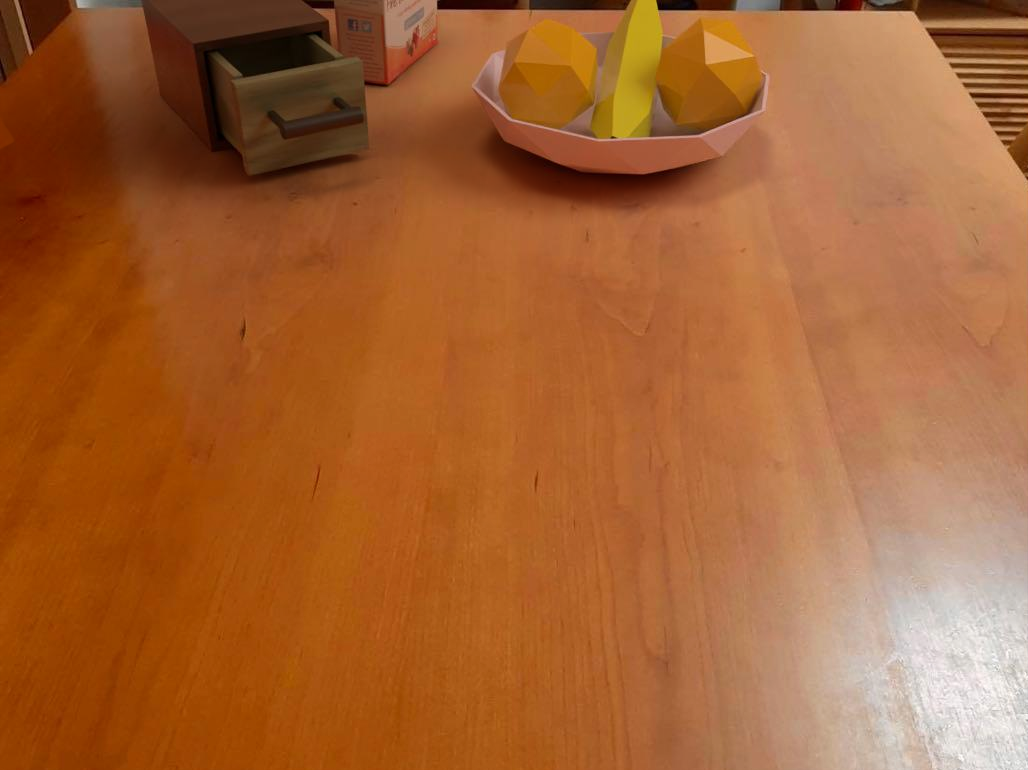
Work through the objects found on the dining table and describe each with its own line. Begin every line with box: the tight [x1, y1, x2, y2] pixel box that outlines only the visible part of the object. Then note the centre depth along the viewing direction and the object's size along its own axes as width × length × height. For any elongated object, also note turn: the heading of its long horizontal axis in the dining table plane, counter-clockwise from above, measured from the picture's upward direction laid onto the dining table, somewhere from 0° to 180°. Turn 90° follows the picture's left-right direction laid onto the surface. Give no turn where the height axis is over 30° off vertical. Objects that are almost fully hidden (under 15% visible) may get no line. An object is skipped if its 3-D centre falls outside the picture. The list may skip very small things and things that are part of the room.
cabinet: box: [141, 0, 332, 152], centre depth 110 cm, size 16×13×10 cm
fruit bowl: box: [470, 0, 771, 175], centre depth 105 cm, size 28×27×11 cm
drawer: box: [204, 32, 370, 176], centre depth 103 cm, size 19×11×8 cm, turn 30°
